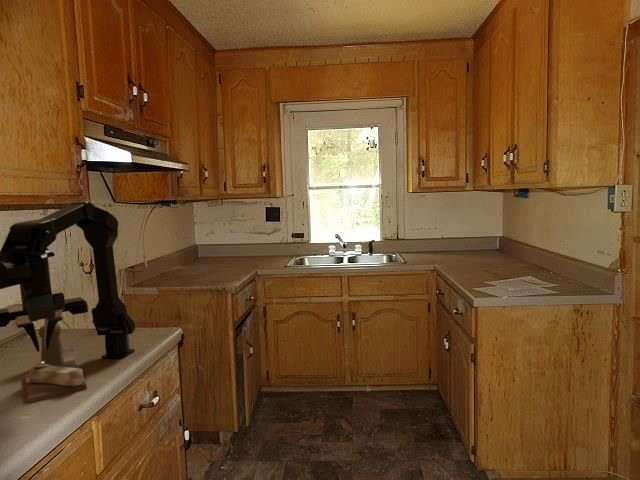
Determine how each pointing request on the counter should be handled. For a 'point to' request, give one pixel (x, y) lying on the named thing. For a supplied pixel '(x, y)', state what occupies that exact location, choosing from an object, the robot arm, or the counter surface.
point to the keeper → (62, 359)
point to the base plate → (49, 389)
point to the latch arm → (56, 375)
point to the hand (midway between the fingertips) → (42, 350)
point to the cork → (51, 346)
